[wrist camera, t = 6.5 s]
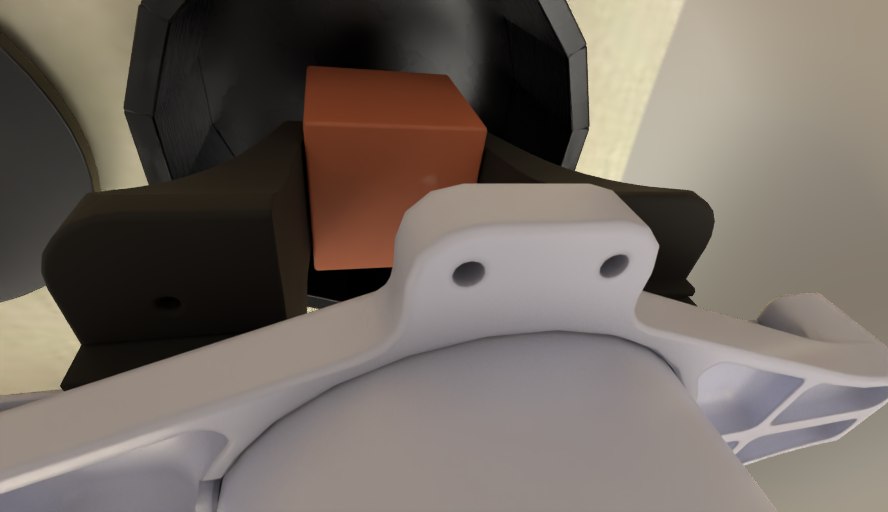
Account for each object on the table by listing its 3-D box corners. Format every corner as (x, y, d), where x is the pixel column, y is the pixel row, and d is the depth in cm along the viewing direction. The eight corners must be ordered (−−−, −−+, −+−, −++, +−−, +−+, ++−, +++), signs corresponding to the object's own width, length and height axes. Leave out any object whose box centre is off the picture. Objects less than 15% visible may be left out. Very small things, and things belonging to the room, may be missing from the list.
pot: (490, 225, 21) (530, 301, 17) (222, 232, 18) (195, 326, 14) (561, -84, 14) (661, -77, 10) (130, -158, 11) (19, -191, 7)
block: (433, 192, 15) (462, 264, 12) (315, 192, 14) (314, 272, 11) (448, 73, 13) (489, 128, 10) (306, 64, 12) (302, 122, 9)
